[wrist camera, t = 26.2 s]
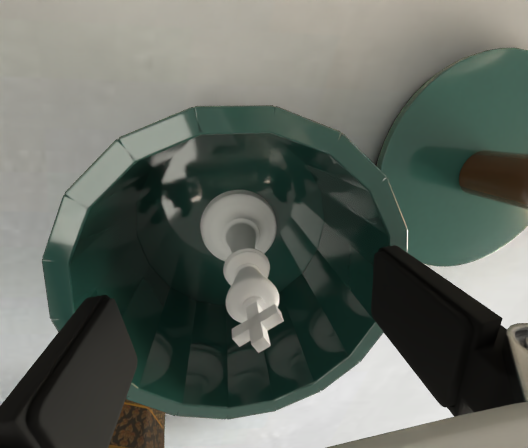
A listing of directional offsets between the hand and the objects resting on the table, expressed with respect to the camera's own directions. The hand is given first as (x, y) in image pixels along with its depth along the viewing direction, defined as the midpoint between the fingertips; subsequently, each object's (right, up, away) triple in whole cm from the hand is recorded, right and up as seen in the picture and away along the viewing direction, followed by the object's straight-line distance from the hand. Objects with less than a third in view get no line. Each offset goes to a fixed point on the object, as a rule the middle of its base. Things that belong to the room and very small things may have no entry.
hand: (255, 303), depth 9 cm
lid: (+15, +7, +9) cm, 19 cm away
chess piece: (-1, +3, +8) cm, 8 cm away
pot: (-2, +3, +8) cm, 9 cm away
